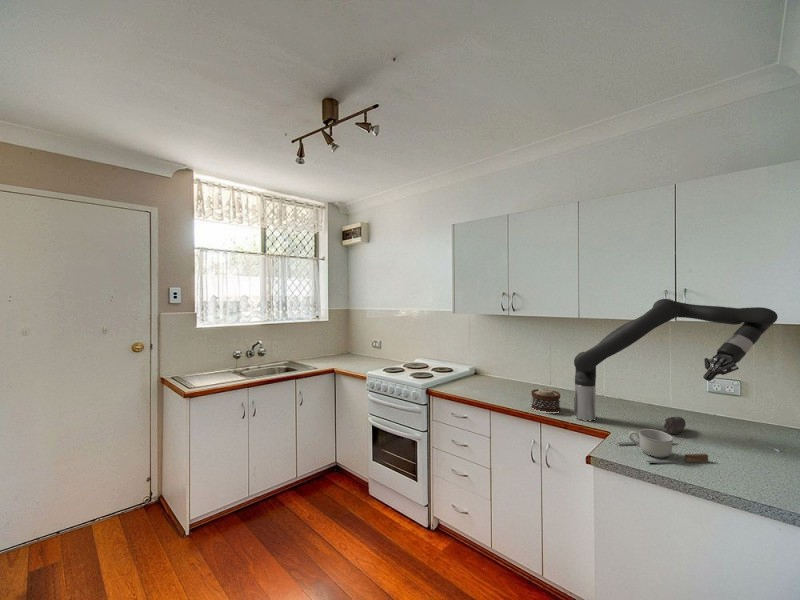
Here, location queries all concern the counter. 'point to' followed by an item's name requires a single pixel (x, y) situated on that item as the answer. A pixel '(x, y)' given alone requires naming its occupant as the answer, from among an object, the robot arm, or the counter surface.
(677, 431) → the perforated stone tool
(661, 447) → the teacup
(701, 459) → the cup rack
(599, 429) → the counter surface
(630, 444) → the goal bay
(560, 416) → the counter surface
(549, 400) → the chocolate cake
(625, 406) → the counter surface
